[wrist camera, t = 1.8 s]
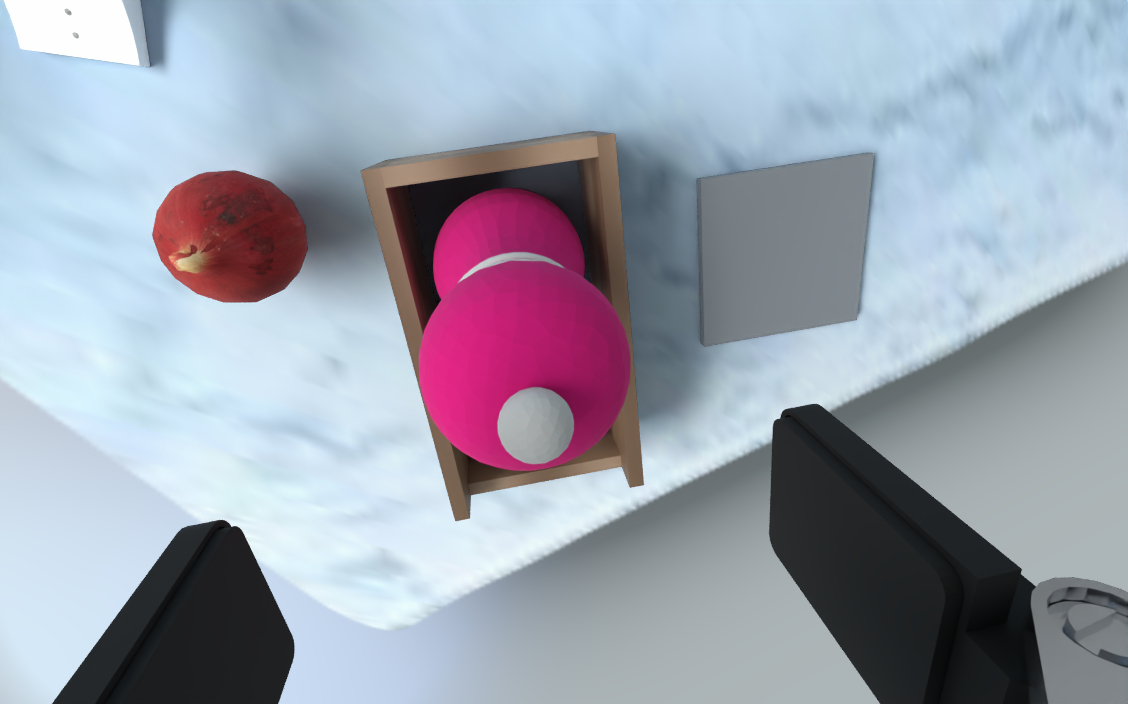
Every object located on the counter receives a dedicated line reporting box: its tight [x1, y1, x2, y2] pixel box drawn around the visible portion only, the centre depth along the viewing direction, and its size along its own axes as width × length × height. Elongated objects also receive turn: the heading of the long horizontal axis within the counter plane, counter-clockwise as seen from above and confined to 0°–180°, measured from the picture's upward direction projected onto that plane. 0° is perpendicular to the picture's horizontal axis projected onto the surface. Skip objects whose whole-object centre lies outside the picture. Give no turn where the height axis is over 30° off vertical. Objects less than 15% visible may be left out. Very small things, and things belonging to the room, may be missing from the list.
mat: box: [697, 153, 874, 347], centre depth 32 cm, size 10×10×1 cm
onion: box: [152, 170, 308, 302], centre depth 24 cm, size 6×6×8 cm
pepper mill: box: [419, 188, 631, 471], centre depth 21 cm, size 7×7×20 cm
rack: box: [361, 131, 644, 521], centre depth 29 cm, size 11×18×6 cm, turn 7°
